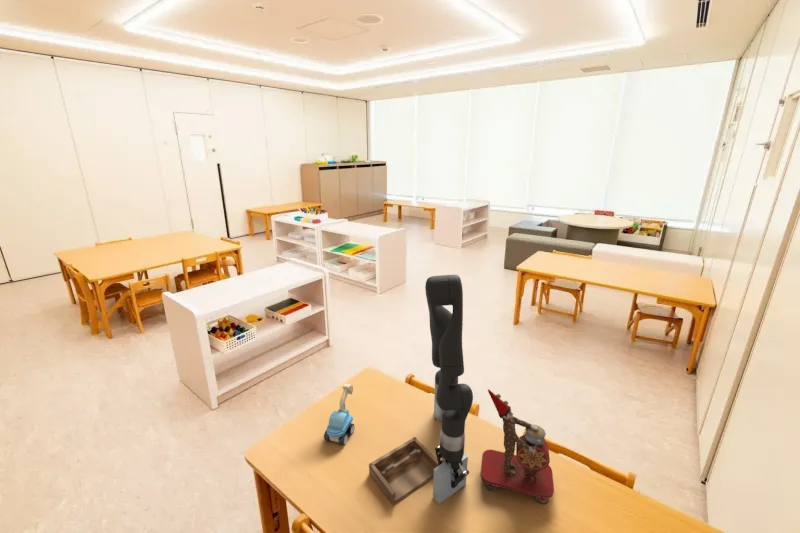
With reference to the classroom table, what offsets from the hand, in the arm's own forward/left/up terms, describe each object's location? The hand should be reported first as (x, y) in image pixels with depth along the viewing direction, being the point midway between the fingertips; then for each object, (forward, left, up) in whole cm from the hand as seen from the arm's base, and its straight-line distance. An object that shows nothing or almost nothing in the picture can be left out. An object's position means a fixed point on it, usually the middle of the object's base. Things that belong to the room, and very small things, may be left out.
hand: (450, 482), depth 117 cm
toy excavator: (+16, -44, -4) cm, 47 cm away
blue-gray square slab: (0, 0, -4) cm, 4 cm away
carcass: (+8, -14, -4) cm, 17 cm away
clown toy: (-20, +11, -4) cm, 23 cm away
